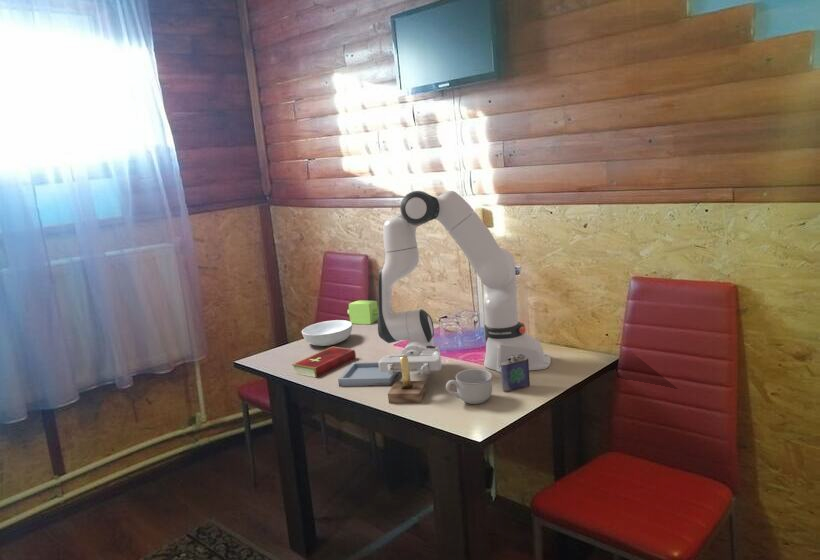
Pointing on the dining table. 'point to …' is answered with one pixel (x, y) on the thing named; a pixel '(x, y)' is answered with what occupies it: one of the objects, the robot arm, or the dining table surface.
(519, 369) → the flask
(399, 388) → the pin block
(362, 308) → the gearbox
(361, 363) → the tray
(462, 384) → the teacup
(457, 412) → the dining table surface
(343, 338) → the serving bowl
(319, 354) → the hardcover book
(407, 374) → the pin
